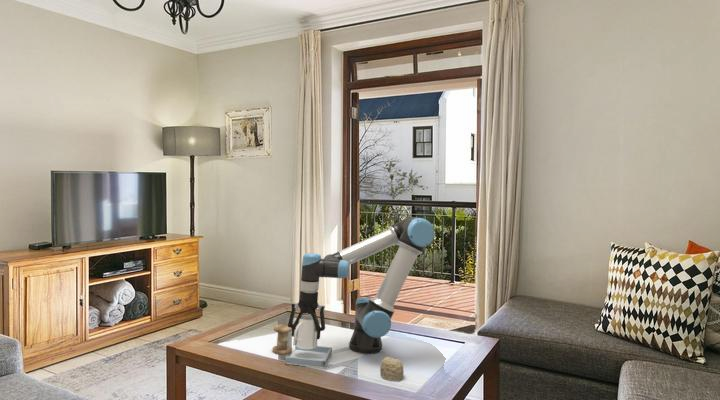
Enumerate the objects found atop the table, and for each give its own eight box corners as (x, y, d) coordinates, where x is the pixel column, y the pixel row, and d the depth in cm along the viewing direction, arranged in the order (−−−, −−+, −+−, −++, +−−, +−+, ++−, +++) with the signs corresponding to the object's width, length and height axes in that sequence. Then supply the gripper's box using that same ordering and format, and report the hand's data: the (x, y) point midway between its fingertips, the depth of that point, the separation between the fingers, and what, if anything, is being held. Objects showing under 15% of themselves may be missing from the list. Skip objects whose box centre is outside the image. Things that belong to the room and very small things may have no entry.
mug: (300, 352, 179) (302, 322, 179) (285, 347, 184) (287, 318, 184) (320, 346, 188) (322, 318, 188) (305, 341, 193) (307, 313, 193)
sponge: (385, 381, 179) (372, 360, 178) (405, 368, 179) (393, 347, 179) (388, 391, 169) (375, 369, 169) (410, 377, 170) (396, 355, 170)
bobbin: (293, 349, 197) (294, 325, 197) (288, 355, 189) (289, 330, 189) (275, 347, 198) (277, 323, 198) (269, 353, 190) (271, 328, 190)
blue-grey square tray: (331, 354, 193) (332, 347, 193) (324, 369, 176) (324, 361, 176) (295, 350, 195) (296, 343, 195) (284, 364, 178) (285, 357, 178)
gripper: (335, 291, 189) (331, 345, 189) (287, 286, 191) (283, 340, 191) (332, 295, 181) (328, 351, 181) (282, 290, 183) (278, 345, 183)
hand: (305, 345), depth 186 cm, fingers closed on mug, 8 cm apart
